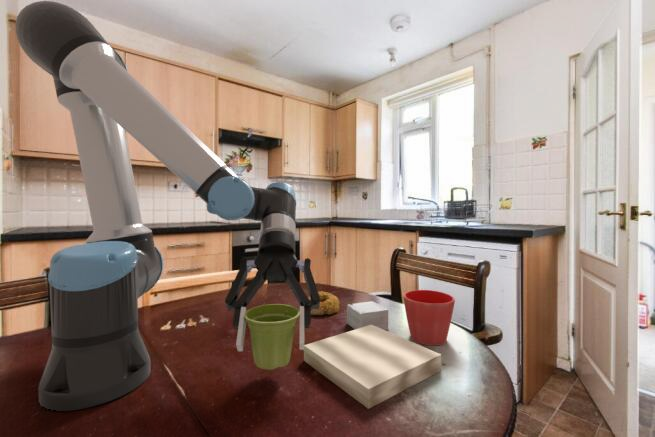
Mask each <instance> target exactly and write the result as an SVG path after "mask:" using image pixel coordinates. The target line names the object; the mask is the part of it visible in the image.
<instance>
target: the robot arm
mask: <svg viewBox="0 0 655 437" xmlns="http://www.w3.org/2000/svg"><path fill="white" fill-rule="evenodd" d="M14 24H15V25H14V27H15V28H14V29H15V30H14V31H15V35H16V39H17V41H18V43H19V46H20V47H21V49H22V51H23V53H25V55H26V56H27V57H28V58H29V59H30V60H31V61H32V62H33V63H34V64H36V65H37V66H38V67H39V68H41V69H42V70H44V71H45V72H46V73H47V74H49V75H50V76H52V79H53V83H54V84H53V85H54V89H55V94H56V98H57V102H58V104H59V105H61V106H62V107H64V108H65V109H66V110H68V111H69V113H70V118H71V124H72V128H73V134H74V138H75V144H76V149H77V154H78V159H79V163H80V169H81V174H82V175H81V176H82V179H83V185H84V189H85V195H86V198H87V204H88V208H89V214H90V218H91V223H92V229H93V231H92V232H91V234H89V236H88V238H87V239H86V240H85V243H84V244H75V245H71V246H68V247H65V248H62V249H60V250H58V251H57V252H55V253H54V254H53V255H52V256H51V258H50V262H49V272H48V276H47V277H48V278H47V280H48V284H49V299H50V304H49V305H50V322H51V323H50V324H51V325H50V326H51V351H50V353H49V357H48V359H47V362H46V364H45V367H44V370H43V373H42V376H41V377H40V378H41V379H40V381H39V384H38V390H37V391H38V403H40V404H39V405H40V407H42V406H43V407H45V408H48V409H51V410H50V411H53V410H56V411H55V412H69V411H70V412H71V411H77V410H83V409H88V408H92V407H96V406H99V405H102V404H106V403H108V402H111V401H114V400H115V399H116V400H117V399H118V398H121V397H122V396H125V395H126V394H128V393H130V392H132V391H134V390H136V388H138V387H139V386H141V385H142V384H143V383H144V382H146V380H147V379H148V378H149V377H150V374H151V368H152V367H151V356H150V355H149V354H150V353H149V352H148V349H147V346H146V345H145V342H144V340H143V338H142V336H141V333H140V331H139V308H138V307H139V304H138V299H140V298H141V297H142V296H143V295H144V294H146V293H148V292H149V291H150V290H152V289H153V288H154V287H155V285H157V283H158V282H159V280H160V278H161V276H162V274H163V272H164V271H163V270H164V258H163V255H162V253H161V251H160V250H159V249H158V247H157V246H156V245H155V241H154V236H153V235H154V234H153V231H152V229H151V228H149V227H147V226H146V225H145V224H143V220H142V214H141V209H140V204H139V198H138V192H137V188H136V182H135V177H134V170H133V167H132V166H133V165H132V161H131V156H130V149H129V145H128V144H129V143H128V139H127V133H128V134H129V135H130V136H131V137H132V138H133V139H134V140H136V141H137V142H138V143H139V144H140V145H141V146H142V147H143V148H145V149H146V150H147V151H148V152H149V153H150V154H151V155H153V156H154V157H155V158H156V159H157V160H158V161H159V162H160V163H161V164H163V165H164V167H166V168H167V169H168V170H169V171H170V172H171V173H173V175H175V176H176V177H177V178H178V179H179V180H181V182H182V183H184V184H185V185H186V186H187V187H189V189H191V191H193V192H194V193H195V194H196V195H197V196H198V197H199V199H201V200H202V201H203V202H204V203H206V210H207V212H208V213H209V214H213V215H216V216H218V217H219V218H221V219H222V220H225V221H239V220H242V219H243V220H250V221H257V222H261V223H260V230H259V232H260V234H259V240H258V248H257V250H258V251H257V255H256V257H255V259H252V260H251V259H250V260H248V259H247V258H245V257H242V258H241V259H240V260H239V269H238V271H237V274H236V276H235V278H234V280H233V282H232V285H231V286H230V288H229V291H228V293H227V295H226V297H225V300H224V302H225V306H226V309H227V311H233V317H232V318H233V319H232V326H233V330H235V331H237V333H236V334H237V336H236V341H235V342H236V343H235V347H236V349H237V350H236V351H237V352H243V351H244V344H245V336H246V327H247V320H246V319H245V317H244V314H245V313H246V311H247V307H248V306H249V304H250V303H251V301H252V300H253V299H254V297H255V296H256V295H257V292H258V291H259V290H260V288H261V287H262V286H264V284H265V283H266V281H268V282H269V281H270V282H272V281H279V282H280V281H283V282H284V281H285V284H287V285H288V286H289V288H290V290H291V292H292V294H293V295H294V297H295V299H296V300H297V302H298V303H299V305H300V306H299V310H300V315H299V317H298V318H299V322H298V324H299V328H298V330H299V333H298V334H299V336H298V337H299V344H298V346H299V348H298V349H299V350H303V351H304V345H305V329H310V328H311V322H312V321H311V320H312V317H311V316H312V315H311V310H312V309H318V308H319V306H320V297H319V294H318V292H319V291H318V289H317V285H316V282H315V279H314V276H313V273H312V269H311V262H312V260H311V258H308V257H307V258H305V259H304V260H301V259H299V260H298V258H297V257H296V228H297V226H296V212H297V211H296V210H297V209H296V208H297V201H296V193H295V189H294V188H293V187H292V186H291V185H290V184H288V183H286V182H283V181H277V182H271V183H269V184H268V185H267V186H266V188H260V187H254V186H251V185H250V184H249V183H248V182H247V181H246V180H245V179H244V178H243V179H242V178H241V177H240V176H239V175H237V173H235V171H233V170H232V169H231V168H230V167H229V166H227V164H226V163H225V162H224V161H223V160H222V159H221V158H220V157H218V155H217V154H216V153H214V152H213V150H211V149H210V147H208V146H207V145H206V144H205V143H204V142H203V141H202V140H201V139H200V138H198V137H197V136H196V135H195V134H194V133H193V131H191V130H190V129H189V128H188V127H187V126H186V125H185V124H184V123H183V122H182V121H181V120H180V119H178V117H176V116H175V115H174V114H173V112H171V111H170V110H169V109H168V108H167V107H166V106H165V105H164V104H163V103H161V102H160V100H158V99H157V97H155V96H154V95H153V94H152V93H151V92H150V91H149V90H148V89H147V88H146V87H145V86H144V85H143V84H141V82H140V81H138V79H136V78H135V77H134V76H133V75H132V74H131V73H130V72H129V69H128V68H127V67H128V66H127V65H126V64H125V62H124V59H123V58H122V56H120V54H119V53H118V52H117V51H116V50H115V48H113V47H112V46H111V45H110V44H109V43H108V41H107V40H106V39H105V38H104V36H102V34H101V33H100V32H99V31H98V30H97V28H96V27H95V26H94V24H93V23H92V22H91V21H90V20H89V19H88V18H87V17H85V16H84V15H83V14H81V13H80V12H79V11H78V10H77V9H74V8H73V7H70V6H68V5H67V4H64V3H61V2H56V1H50V0H40V1H35V2H32V3H29V4H28V5H25V6H24V7H23V8H22V9H21V10H20V12H18V14H17V16H16V19H15V23H14ZM253 268H255V269H256V271H257V272H256V273H255V276H254V277H253V279H252V280H251V281H250V282H249V284H248V285H247V287H246V288H245V289H244V291H243V292H242V289H243V287H244V285H245V282H246V280H247V277H248V275H249V273H250V272H251V271H252V270H253ZM297 268H298V269H299V270H300V272H301V273H303V278H304V281H305V284H306V288H307V291H308V295H309V296H307V295H306V293H305V291H304V289H303V288H302V286H301V284H300V283H299V281H298V279H297V277H296V276H295V274H294V271H295V270H296V269H297ZM241 292H242V293H241ZM309 297H310V298H311V300H309V299H308V298H309ZM43 407H42V408H43ZM45 408H44V409H45ZM48 409H47V410H48Z"/></svg>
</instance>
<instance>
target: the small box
mask: <svg viewBox="0 0 655 437" xmlns="http://www.w3.org/2000/svg"><path fill="white" fill-rule="evenodd" d="M346 305H347V306H346V310H347V311H346V320H347V321H346V324H347V325H348V326H350V327H351V328H352V329H353V330H355V329H358V328H362V327H365V326H368V325H374V326H376V327H378V328H381V329H383V330H385V331H388V330H389V309H387V308H386V307H383V306H382V305H380V304H378V303H376V302H374V301H373V300H371V301H370V300H369V301H364V302H355V303H349V304H346Z"/></svg>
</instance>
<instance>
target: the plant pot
mask: <svg viewBox="0 0 655 437" xmlns="http://www.w3.org/2000/svg"><path fill="white" fill-rule="evenodd" d="M299 315H300V308H298V307H297V306H294V305H289V304H283V303H282V304H281V303H269V304H268V303H267V304H261V305H257V306H254V307H251V308H249V309H248V310H247V309H246V313H245V314H244V317H245V319H246V325H247V327H248V328H249V335H250V341H251V350H252V356H253V362H254V364H255V365H256V367H257V368H259V369H262V370H275V369H277V368H279V367H281V368H283V367H286V365H287V366H288V364H289V363H290V361H291V354H292V349H293V340H294V334H295V329H296V328H295V327H296V325H297V322H298V318H299Z"/></svg>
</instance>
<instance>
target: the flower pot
mask: <svg viewBox="0 0 655 437" xmlns="http://www.w3.org/2000/svg"><path fill="white" fill-rule="evenodd" d="M402 297H403V303H404V309H405V315H406V320H407V325H408V330H409V335H410V338H411V339H412V340H413V342H415V343H417V344H420V345H425V346H436V345H437V346H441V345H444V344H445V343H446V342H447V340H448V335H449V331H450V326H451V322H452V317H453V313H454V307H455V303H456V299H455V297H454V296H452V295H451V294H449V293H445V292H442V291H437V290H432V289H413V290H409V291H407V292H405V293H403V296H402Z"/></svg>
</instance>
